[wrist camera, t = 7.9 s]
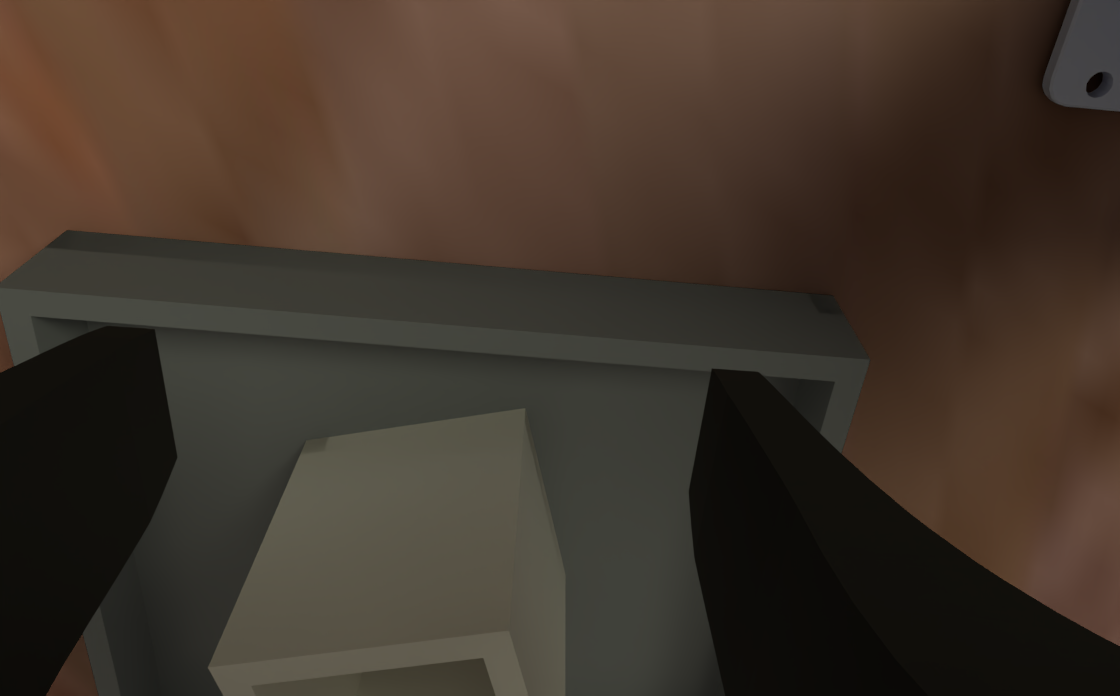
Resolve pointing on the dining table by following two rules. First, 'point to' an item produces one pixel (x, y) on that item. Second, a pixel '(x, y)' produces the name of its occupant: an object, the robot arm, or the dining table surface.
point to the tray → (426, 421)
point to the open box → (405, 570)
